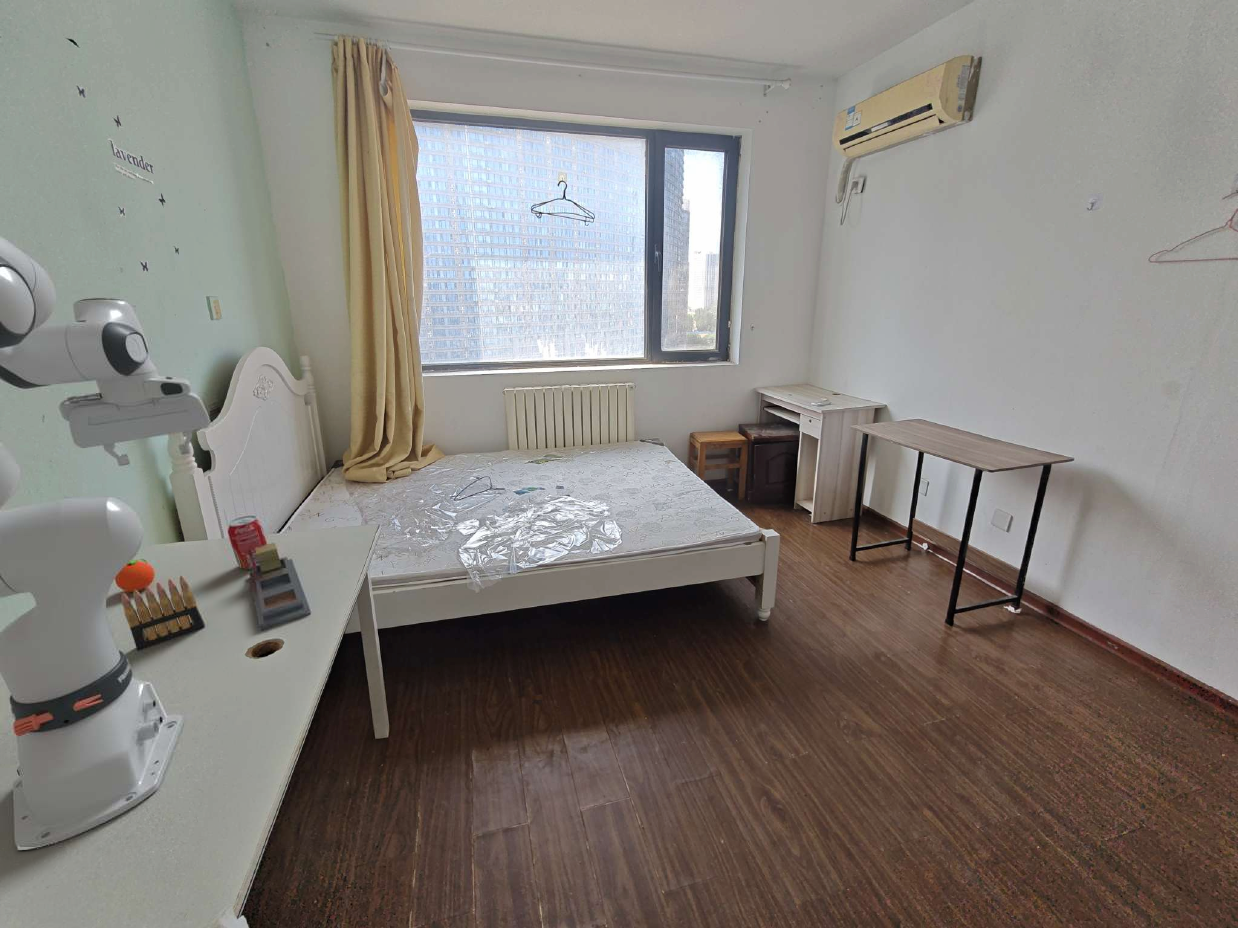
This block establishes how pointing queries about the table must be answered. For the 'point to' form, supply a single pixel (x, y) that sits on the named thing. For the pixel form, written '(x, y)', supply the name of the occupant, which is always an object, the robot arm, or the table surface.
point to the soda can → (246, 540)
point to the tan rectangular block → (268, 558)
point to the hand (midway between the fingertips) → (156, 458)
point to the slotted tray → (278, 595)
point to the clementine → (135, 576)
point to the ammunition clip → (162, 615)
